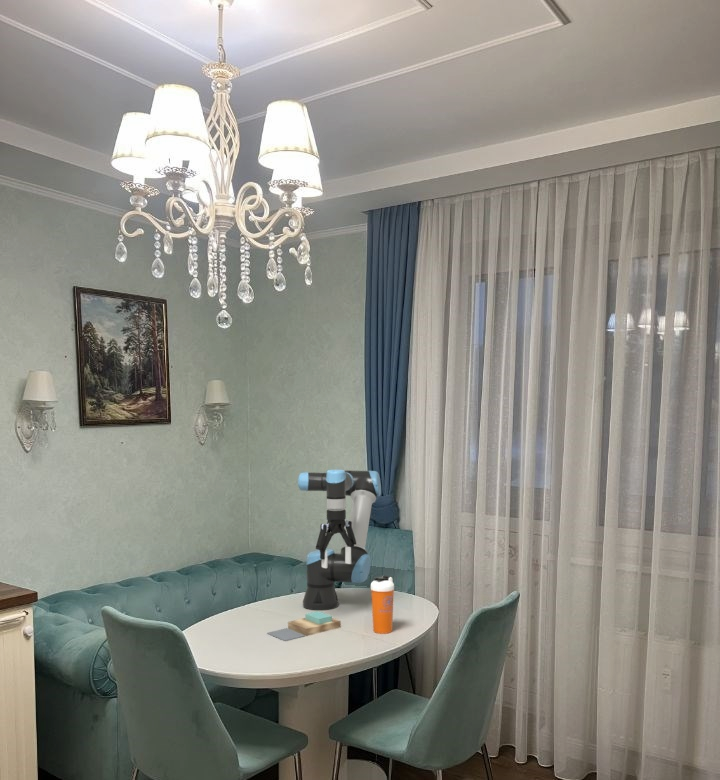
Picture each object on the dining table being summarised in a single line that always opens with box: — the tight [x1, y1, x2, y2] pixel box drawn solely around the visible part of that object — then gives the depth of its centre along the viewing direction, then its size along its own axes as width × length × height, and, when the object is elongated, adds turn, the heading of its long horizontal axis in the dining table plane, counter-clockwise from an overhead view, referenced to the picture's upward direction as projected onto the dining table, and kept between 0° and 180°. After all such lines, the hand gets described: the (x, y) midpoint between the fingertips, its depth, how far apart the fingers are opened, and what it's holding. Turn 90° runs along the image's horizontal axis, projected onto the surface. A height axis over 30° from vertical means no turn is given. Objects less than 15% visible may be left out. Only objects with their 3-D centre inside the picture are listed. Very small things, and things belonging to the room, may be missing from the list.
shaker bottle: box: [370, 574, 395, 635], centre depth 267 cm, size 9×9×20 cm
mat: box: [266, 627, 306, 642], centre depth 262 cm, size 9×12×1 cm
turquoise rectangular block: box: [304, 610, 333, 624], centre depth 272 cm, size 6×9×2 cm, turn 40°
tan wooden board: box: [287, 617, 342, 637], centre depth 271 cm, size 16×12×2 cm
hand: (336, 565), depth 278 cm, fingers open, 11 cm apart
